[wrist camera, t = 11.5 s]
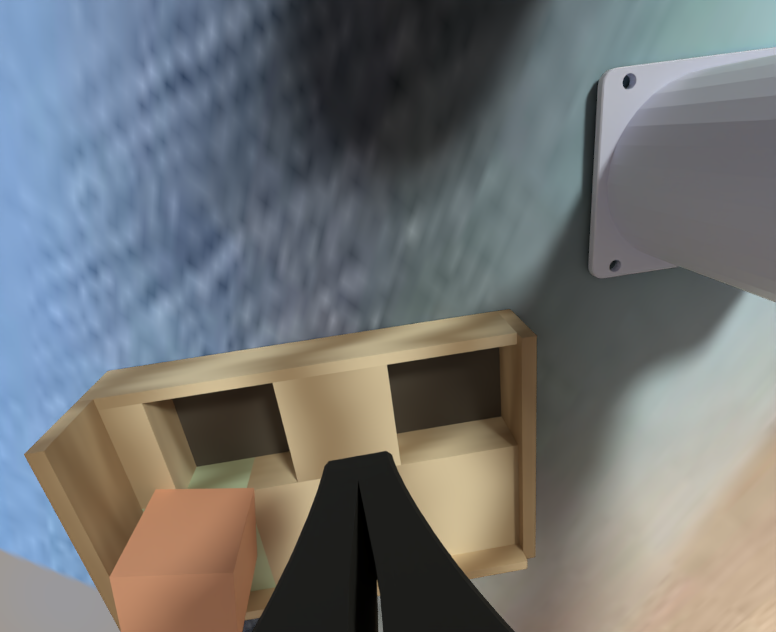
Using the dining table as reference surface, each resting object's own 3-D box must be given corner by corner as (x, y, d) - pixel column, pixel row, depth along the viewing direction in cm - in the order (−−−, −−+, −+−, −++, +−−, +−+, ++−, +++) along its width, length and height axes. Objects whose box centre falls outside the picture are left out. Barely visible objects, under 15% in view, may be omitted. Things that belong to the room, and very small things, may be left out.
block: (254, 488, 19) (233, 572, 15) (257, 556, 20) (238, 648, 17) (155, 489, 18) (109, 577, 15) (165, 559, 20) (126, 654, 16)
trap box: (510, 309, 20) (568, 366, 15) (513, 511, 24) (558, 607, 19) (107, 371, 19) (24, 454, 14) (189, 568, 23) (149, 684, 18)
